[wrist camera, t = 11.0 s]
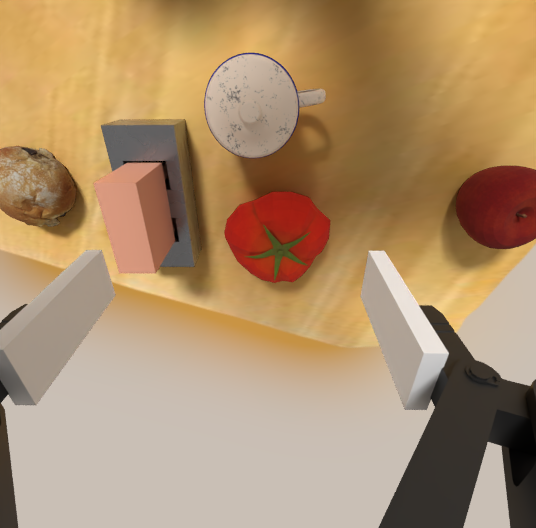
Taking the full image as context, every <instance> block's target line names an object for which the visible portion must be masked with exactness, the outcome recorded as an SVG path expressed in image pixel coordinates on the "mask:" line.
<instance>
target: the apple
mask: <svg viewBox="0 0 536 528" xmlns="http://www.w3.org/2000/svg"><path fill="white" fill-rule="evenodd" d="M456 212H457V217H458V219H459V221H460V224H461V226H462V227H463V228H464V230H465V231H466V232H467V234H468V235H469V236H470V237H471V238H473V239H474V240H475V241H476V242H478V243H480V244H482V245H484V246H487V247H489V248H495V249H510V248H515V247H519V246H522V245H524V244H527V243H529V242H531V241H533V240H534V239H536V170H534V169H531V168H527V167H521V166H497V167H491V168H488V169H485V170H482V171H479V172H477V173H476V174H474V175H472V176H471V177H470V178H468V179H467V180H466V181H465V182H464V184H463V185H462V186H461V188H460V190H459V192H458V195H457V199H456Z"/></svg>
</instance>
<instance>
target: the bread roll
mask: <svg viewBox="0 0 536 528" xmlns="http://www.w3.org/2000/svg"><path fill="white" fill-rule="evenodd" d="M75 197H76V189H75V187H74V183H73V180H72V179H71V177H70V175H69V173H68V172H67V170H66V169H65V167H64V166H63V165H62V164H61V163H60V162H59V161H58V160H56V159H54V158H53V155H52V153H51V152H49V151H47V150H46V149H42V148H39V150H36V149H32V148H27V147H20V146H14V147H4V148H2V149H0V208H1V210H2V211H4V212H5V213H6V214H7V215H9V216H10V217H12V218H15V219H17V220H19V221H22V222H25V223H26V224H27V225H33V226H39V227H42V226H43V225H47V226H55V225H58V224H59V223H60V222H59V220H57V217H59V216H60V217H62V216H65V214H66V212H68V211H69V210H70V209H71V208H72V206H73V204H74V203H75Z"/></svg>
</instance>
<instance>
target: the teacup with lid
mask: <svg viewBox="0 0 536 528" xmlns="http://www.w3.org/2000/svg"><path fill="white" fill-rule="evenodd" d="M325 99H326V95H325V90H323V89H310V90H303V91H297V89H296V86H295V84H294V81H293V80H292V78H291V76H290V75H289V73H288V72H287V71H286V69H285V68H284V67H283V66H282V65H281V64H279V63H278V62H277V61H275V60H274V59H272V58H270V57H268V56H266V55H263V54H259V53H243V54H238V55H236V56H233V57H231V58H229V59H228V60H226V61H225V62H223V63H222V64H221V65H220V66H219V67H218V68H217V69H216V71H215V72H214V73H213V75H212V76H211V78H210V80H209V83H208V85H207V89H206V93H205V100H204V108H205V116H206V120H207V123H208V126H209V128H210V130H211V132H212V134H213V136H214V137H215V138H216V140H217V141H218V142H219V143H220V144H221V145H222V146H223V147H224V148H225V149H227V150H228V151H230V152H231V153H233V154H235V155H238V156H241V157H245V158H261V157H265V156H268V155H271V154H273V153H275V152H276V151H278V150H279V149H280V148H282V147H283V146H284V145H285V144H286V143H287V141H288V140H289V139H290V137H291V136H292V134H293V132H294V130H295V128H296V125H297V121H298V117H299V107H306V106H311V105H316V104H320V103H323V102H324V101H325Z"/></svg>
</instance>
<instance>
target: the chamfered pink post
mask: <svg viewBox="0 0 536 528" xmlns="http://www.w3.org/2000/svg"><path fill="white" fill-rule="evenodd" d="M167 177H168V170H167V164H166V163H126V164H124V165H123V166H121V167H119V168H118V169H116V170H114V171H113V172H111V173H109V174H108V175H106V176H104V177H103V178H101V179H99V180H98V181H96V182H94V183H93V184H94V187H95V190H96V194H97V197H98V201H99V204H100V208H101V211H102V215H103V218H104V222H105V225H106V228H107V232H108V235H109V239H110V242H111V246H112V249H113V253H114V256H115V260H116V263H117V266H118V270H119V273H156V272H157V270H158V269H159V267H160V265H161V264H162V262H163V260H164V259H165V257H166V255H167V254H168V252H169V250H170V249H171V247H172V245H173V244H174V242H175V236H174V231H175V229H176V228H177V224H176V218H171V213H170V207H169V202H168V196H167V190H166V184H165V179H166V178H167Z"/></svg>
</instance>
